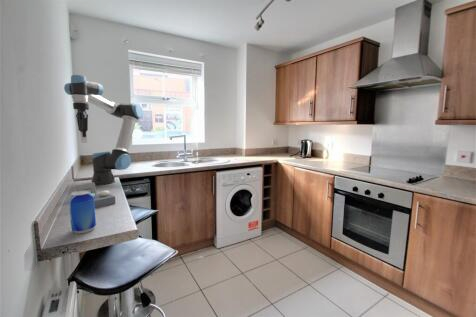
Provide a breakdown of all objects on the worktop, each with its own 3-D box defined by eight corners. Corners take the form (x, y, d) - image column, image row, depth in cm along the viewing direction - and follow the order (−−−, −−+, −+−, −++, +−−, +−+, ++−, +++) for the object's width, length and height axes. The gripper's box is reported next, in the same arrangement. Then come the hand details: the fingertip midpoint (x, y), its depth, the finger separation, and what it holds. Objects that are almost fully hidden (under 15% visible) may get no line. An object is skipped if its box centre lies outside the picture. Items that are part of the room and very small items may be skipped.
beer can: (93, 223, 101) (90, 188, 99) (98, 230, 95) (95, 192, 93) (70, 229, 96) (66, 192, 93) (73, 236, 90) (69, 196, 87)
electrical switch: (79, 201, 130) (77, 185, 129) (76, 200, 133) (74, 184, 132) (97, 197, 137) (95, 182, 136) (94, 197, 140) (92, 182, 140)
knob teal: (94, 202, 127) (93, 192, 126) (97, 204, 124) (96, 194, 123) (85, 204, 123) (84, 194, 123) (88, 206, 121) (87, 196, 120)
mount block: (106, 198, 135) (106, 192, 135) (115, 203, 128) (115, 196, 127) (81, 204, 125) (80, 197, 125) (89, 209, 118) (88, 202, 117)
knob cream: (107, 199, 132) (107, 190, 131) (111, 200, 129) (110, 191, 129) (99, 201, 129) (98, 191, 128) (102, 202, 126) (101, 193, 125)
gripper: (69, 102, 137) (73, 142, 140) (77, 101, 129) (80, 143, 132) (84, 103, 143) (87, 141, 146) (91, 102, 135) (95, 142, 138)
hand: (84, 142), depth 139 cm, fingers closed
